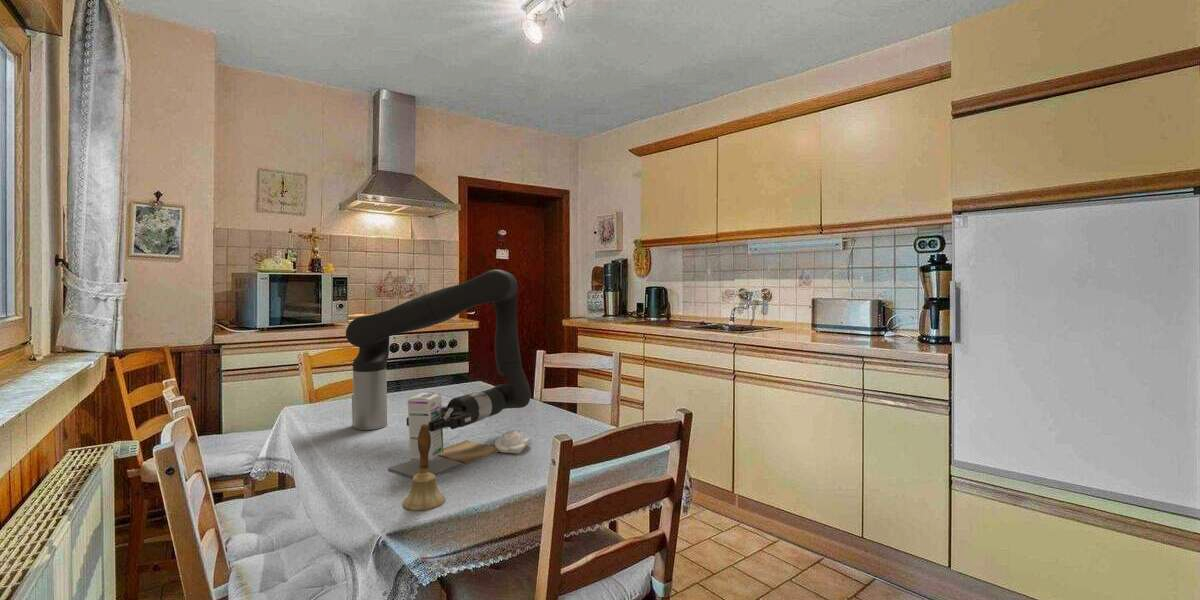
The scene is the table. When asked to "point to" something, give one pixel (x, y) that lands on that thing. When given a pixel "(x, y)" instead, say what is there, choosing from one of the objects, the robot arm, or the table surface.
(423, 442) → the hand bell
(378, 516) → the table surface
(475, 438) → the table surface
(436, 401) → the syrup box
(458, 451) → the honey oak pad
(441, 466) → the dark slate pad
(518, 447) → the rose
